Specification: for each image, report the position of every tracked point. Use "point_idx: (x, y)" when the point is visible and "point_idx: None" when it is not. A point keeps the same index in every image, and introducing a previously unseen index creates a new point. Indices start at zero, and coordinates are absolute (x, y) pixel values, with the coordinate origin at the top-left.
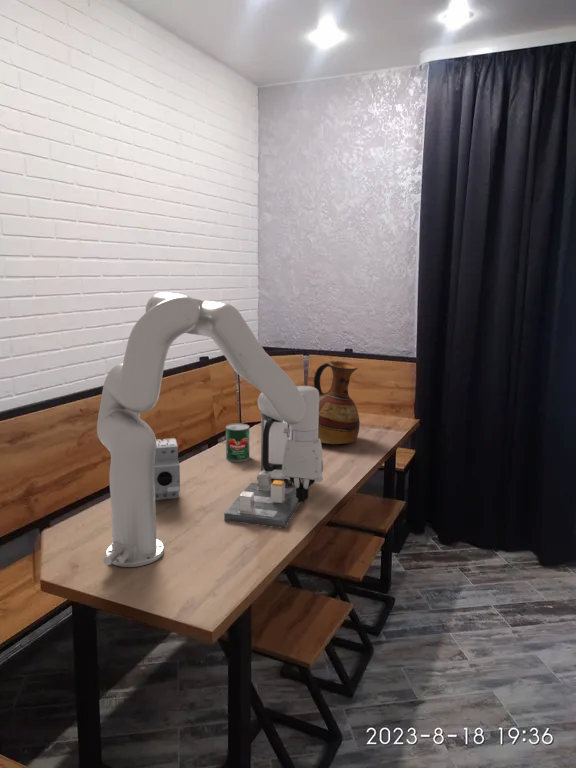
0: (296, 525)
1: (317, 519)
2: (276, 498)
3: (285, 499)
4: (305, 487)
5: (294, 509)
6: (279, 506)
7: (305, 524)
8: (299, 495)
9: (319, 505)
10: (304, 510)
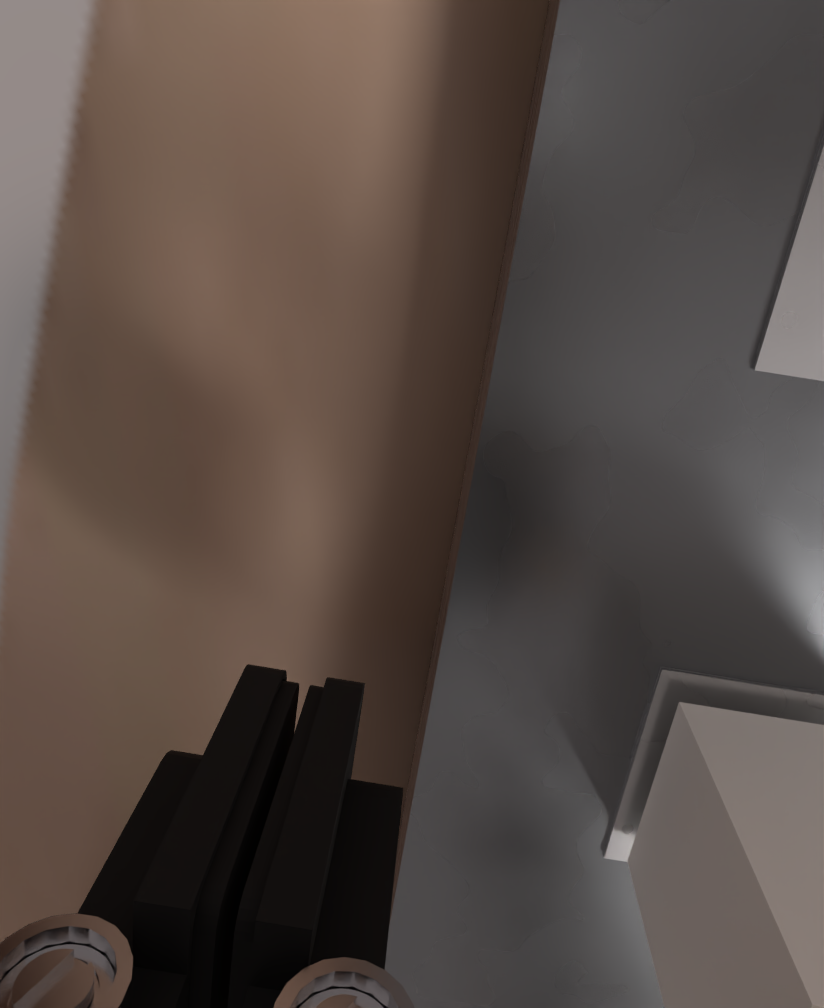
0: (356, 118)
1: (57, 410)
2: (810, 770)
3: (608, 854)
4: (85, 963)
5: (439, 627)
6: (712, 601)
7: (208, 187)
8: (310, 771)
9: None
10: (302, 683)
